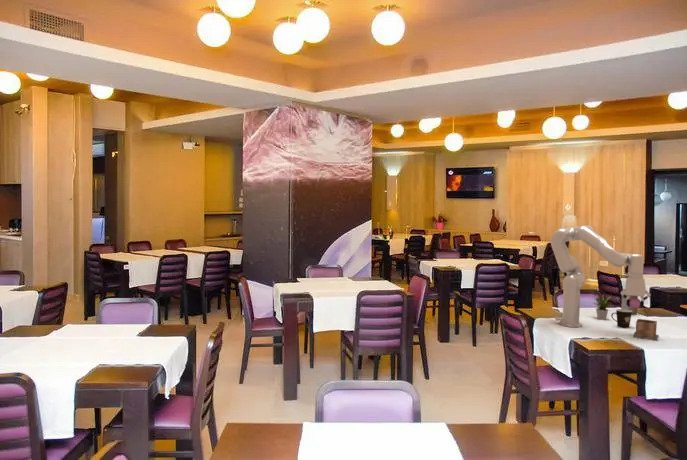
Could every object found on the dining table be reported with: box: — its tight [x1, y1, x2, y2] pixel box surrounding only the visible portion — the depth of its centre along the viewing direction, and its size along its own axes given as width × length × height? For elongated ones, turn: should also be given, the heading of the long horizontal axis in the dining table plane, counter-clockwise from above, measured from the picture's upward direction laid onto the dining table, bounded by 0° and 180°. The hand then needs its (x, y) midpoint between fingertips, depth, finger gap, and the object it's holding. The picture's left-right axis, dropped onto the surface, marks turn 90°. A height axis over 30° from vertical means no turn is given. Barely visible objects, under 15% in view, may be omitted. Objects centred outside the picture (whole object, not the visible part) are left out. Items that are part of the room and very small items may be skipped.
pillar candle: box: [620, 292, 639, 316], centre depth 373 cm, size 10×10×15 cm
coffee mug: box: [610, 308, 633, 329], centre depth 336 cm, size 12×9×10 cm
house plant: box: [591, 293, 612, 320], centre depth 357 cm, size 14×14×16 cm
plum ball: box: [629, 298, 641, 309], centre depth 314 cm, size 6×6×6 cm
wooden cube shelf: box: [632, 318, 660, 341], centre depth 312 cm, size 12×12×9 cm
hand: (635, 306), depth 314 cm, fingers closed on plum ball, 5 cm apart
